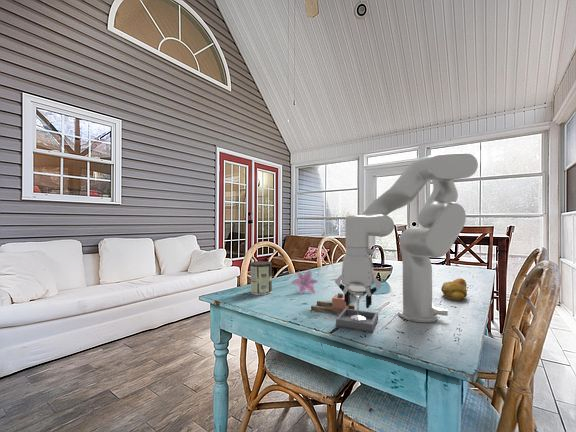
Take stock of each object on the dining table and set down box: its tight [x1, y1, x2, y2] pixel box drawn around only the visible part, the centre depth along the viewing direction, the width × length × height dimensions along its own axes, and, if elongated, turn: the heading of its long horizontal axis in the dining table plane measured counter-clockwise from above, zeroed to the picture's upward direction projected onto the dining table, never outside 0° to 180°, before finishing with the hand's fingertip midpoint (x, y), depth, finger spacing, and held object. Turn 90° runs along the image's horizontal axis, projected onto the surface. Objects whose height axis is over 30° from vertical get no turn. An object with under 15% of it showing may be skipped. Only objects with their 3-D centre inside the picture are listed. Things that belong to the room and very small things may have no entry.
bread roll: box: [440, 277, 468, 302], centre depth 122 cm, size 13×10×8 cm
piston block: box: [331, 292, 350, 310], centre depth 107 cm, size 5×5×6 cm
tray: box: [335, 309, 379, 334], centre depth 94 cm, size 12×12×2 cm
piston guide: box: [310, 300, 356, 315], centre depth 107 cm, size 15×10×2 cm
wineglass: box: [347, 282, 367, 320], centre depth 94 cm, size 7×7×12 cm
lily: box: [290, 269, 318, 295], centre depth 135 cm, size 12×12×10 cm
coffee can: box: [249, 260, 273, 296], centre depth 135 cm, size 10×10×14 cm
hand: (357, 305), depth 94 cm, fingers closed on wineglass, 6 cm apart
